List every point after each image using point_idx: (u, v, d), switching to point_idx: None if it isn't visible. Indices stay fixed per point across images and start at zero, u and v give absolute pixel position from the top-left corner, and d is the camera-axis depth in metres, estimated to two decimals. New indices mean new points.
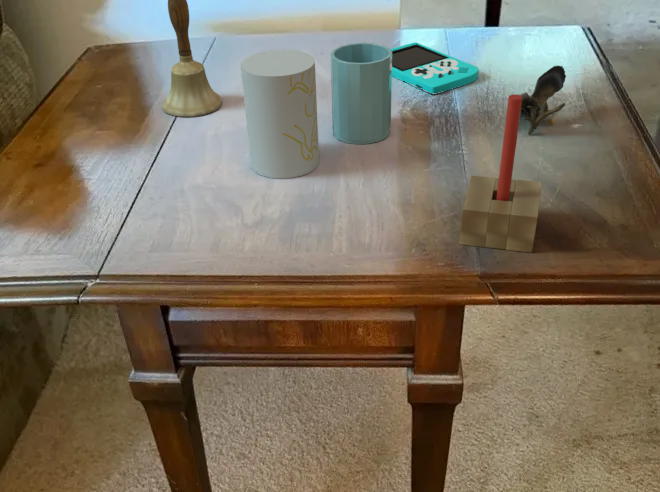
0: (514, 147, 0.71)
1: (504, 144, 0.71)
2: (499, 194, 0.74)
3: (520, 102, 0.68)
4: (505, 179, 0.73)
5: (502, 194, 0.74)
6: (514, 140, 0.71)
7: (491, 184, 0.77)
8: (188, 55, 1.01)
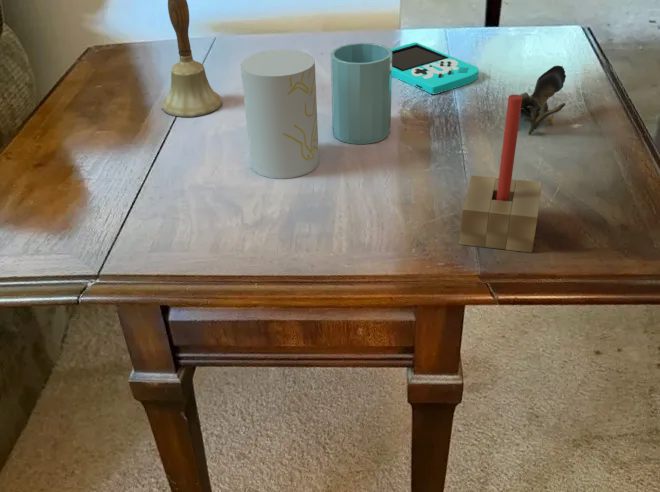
0: (514, 147, 0.71)
1: (504, 144, 0.71)
2: (499, 194, 0.74)
3: (520, 102, 0.68)
4: (505, 179, 0.73)
5: (502, 194, 0.74)
6: (514, 140, 0.71)
7: (491, 184, 0.77)
8: (188, 55, 1.01)
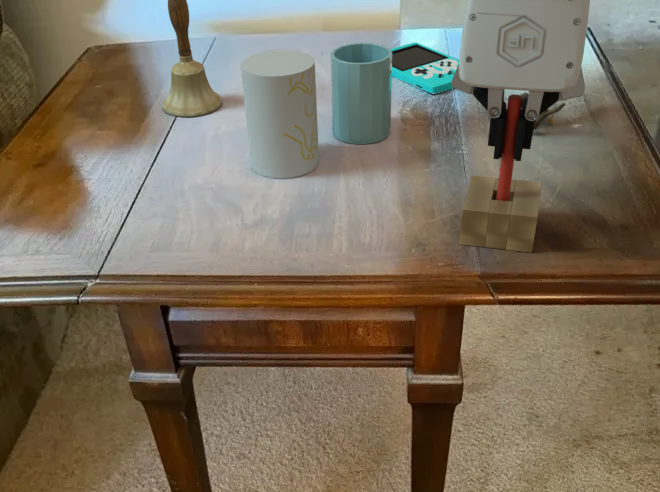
0: (514, 147, 0.71)
1: (504, 144, 0.71)
2: (499, 194, 0.74)
3: (520, 102, 0.68)
4: (505, 179, 0.73)
5: (502, 194, 0.74)
6: (514, 140, 0.71)
7: (491, 184, 0.77)
8: (188, 55, 1.01)
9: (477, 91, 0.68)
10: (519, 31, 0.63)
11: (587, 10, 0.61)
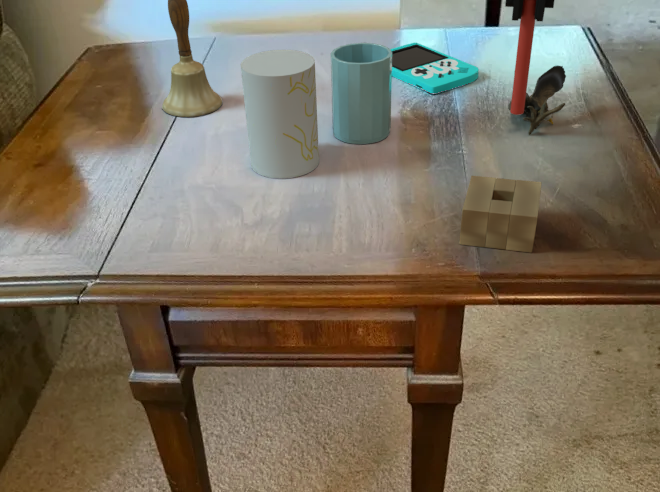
0: None
1: (524, 4, 0.63)
2: (518, 67, 0.67)
3: None
4: (525, 48, 0.65)
5: (521, 66, 0.66)
6: None
7: (491, 184, 0.77)
8: (188, 55, 1.01)
9: None
10: None
11: None
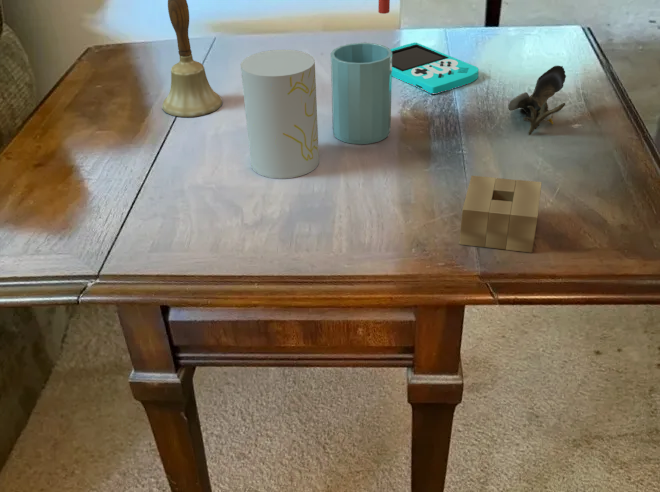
0: None
1: None
2: None
3: None
4: None
5: None
6: None
7: (491, 184, 0.77)
8: (188, 55, 1.01)
9: None
10: None
11: None
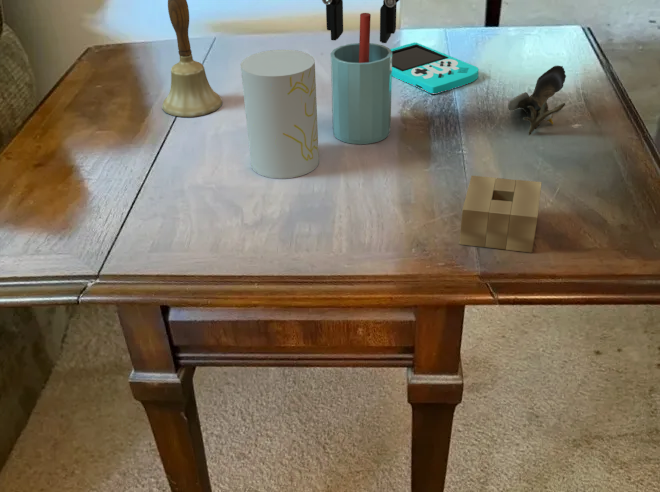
0: (367, 56, 0.90)
1: (359, 54, 0.90)
2: None
3: (369, 18, 0.87)
4: None
5: None
6: (367, 50, 0.90)
7: (491, 184, 0.77)
8: (188, 55, 1.01)
9: None
10: None
11: None
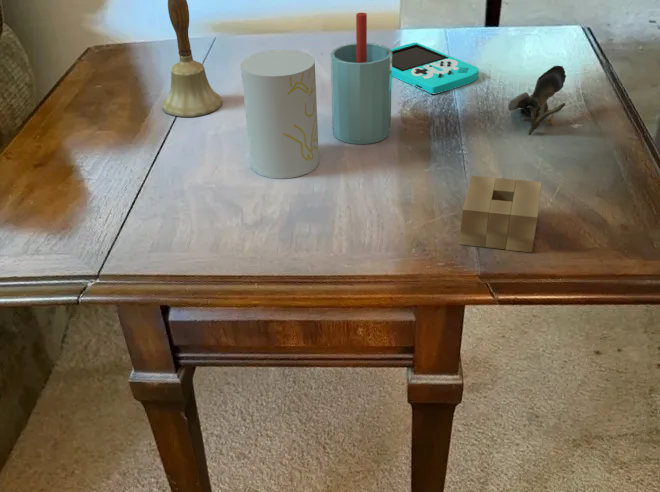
0: (365, 56, 0.90)
1: (357, 53, 0.90)
2: None
3: (365, 18, 0.88)
4: None
5: None
6: (364, 50, 0.90)
7: (491, 184, 0.77)
8: (188, 55, 1.01)
9: None
10: None
11: None
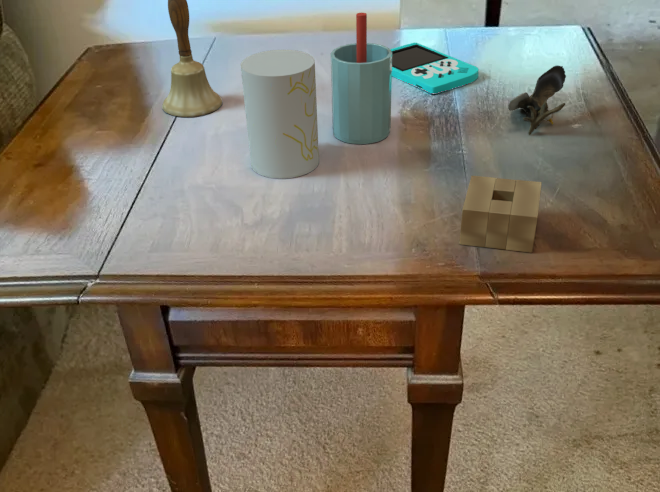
0: (365, 56, 0.90)
1: (357, 53, 0.90)
2: None
3: (365, 18, 0.88)
4: None
5: None
6: (364, 50, 0.90)
7: (491, 184, 0.77)
8: (188, 55, 1.01)
9: None
10: None
11: None
